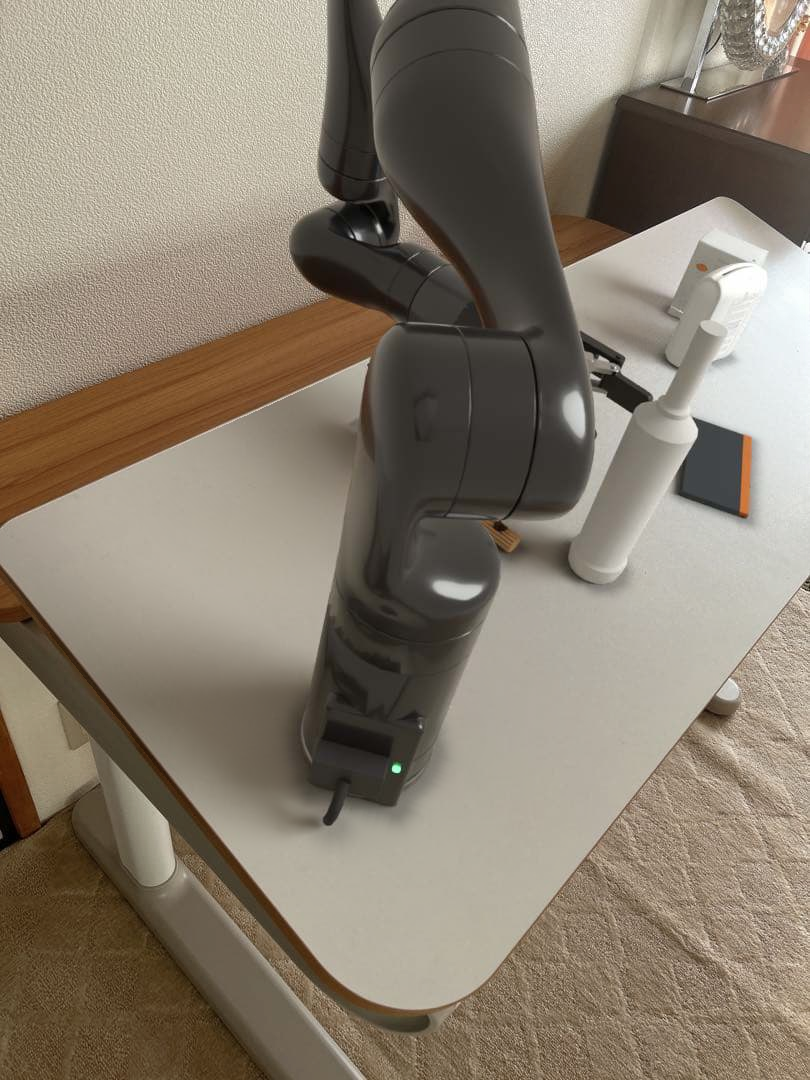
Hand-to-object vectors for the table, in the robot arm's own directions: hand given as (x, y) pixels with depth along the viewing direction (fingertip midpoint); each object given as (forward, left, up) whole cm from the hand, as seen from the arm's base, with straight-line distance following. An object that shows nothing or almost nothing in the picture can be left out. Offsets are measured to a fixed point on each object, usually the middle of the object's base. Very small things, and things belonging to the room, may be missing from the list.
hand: (620, 425), depth 71 cm
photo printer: (+40, -15, -14) cm, 45 cm away
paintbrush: (+2, +13, -14) cm, 20 cm away
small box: (+50, -16, -14) cm, 55 cm away
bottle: (-2, -3, -14) cm, 15 cm away
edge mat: (+18, -16, -14) cm, 28 cm away
